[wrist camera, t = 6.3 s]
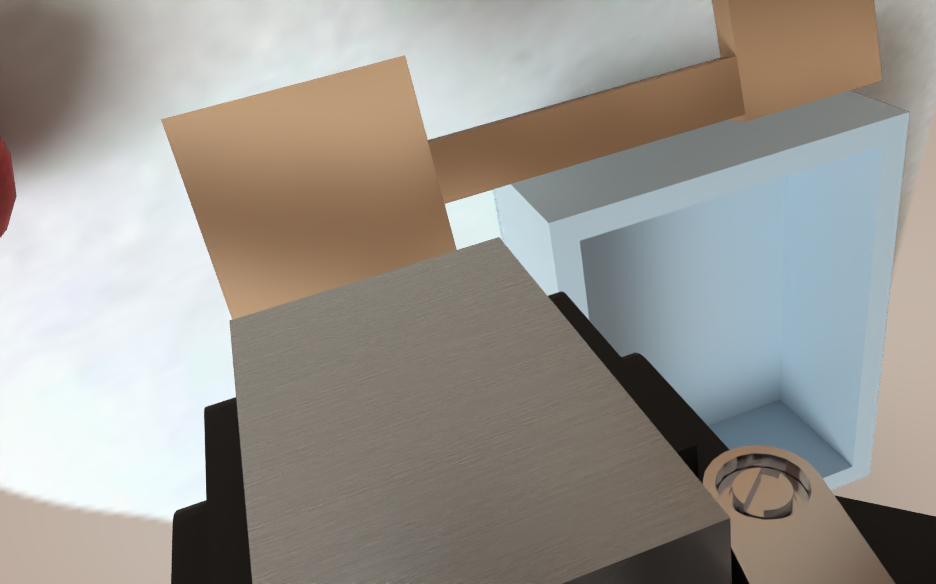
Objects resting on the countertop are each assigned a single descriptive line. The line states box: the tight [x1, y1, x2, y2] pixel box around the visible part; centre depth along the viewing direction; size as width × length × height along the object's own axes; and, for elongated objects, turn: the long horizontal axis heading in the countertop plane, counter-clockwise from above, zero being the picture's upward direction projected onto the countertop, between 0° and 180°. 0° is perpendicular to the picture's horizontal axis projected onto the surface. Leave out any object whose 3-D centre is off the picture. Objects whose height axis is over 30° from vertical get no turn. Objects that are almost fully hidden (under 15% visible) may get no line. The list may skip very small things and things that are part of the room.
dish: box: [494, 91, 910, 490], centre depth 35 cm, size 18×14×6 cm
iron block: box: [230, 237, 732, 584], centre depth 10 cm, size 5×4×6 cm
